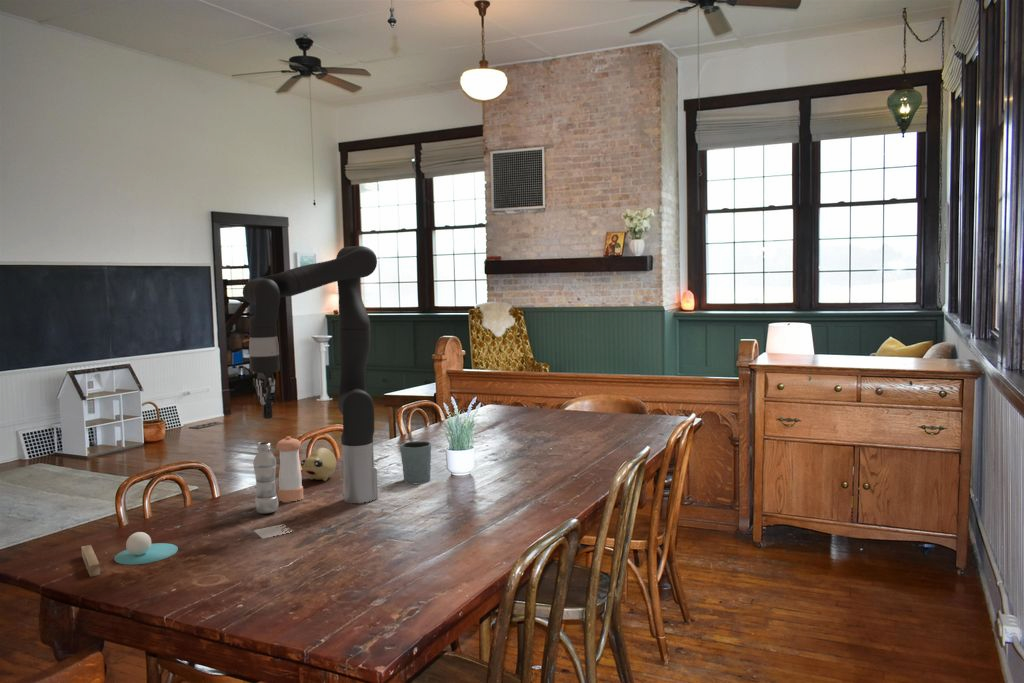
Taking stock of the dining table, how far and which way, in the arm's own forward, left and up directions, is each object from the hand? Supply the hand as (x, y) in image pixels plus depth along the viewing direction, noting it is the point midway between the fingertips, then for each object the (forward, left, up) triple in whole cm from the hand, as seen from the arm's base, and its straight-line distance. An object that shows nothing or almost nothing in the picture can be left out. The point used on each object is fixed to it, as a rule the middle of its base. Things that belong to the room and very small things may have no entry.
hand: (267, 418), depth 205 cm
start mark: (+2, +7, -29) cm, 30 cm away
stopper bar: (+44, +4, -29) cm, 53 cm away
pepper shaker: (-12, -20, -29) cm, 37 cm away
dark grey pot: (-52, -15, -29) cm, 61 cm away
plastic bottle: (-2, -11, -29) cm, 31 cm away
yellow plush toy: (-27, -36, -29) cm, 54 cm away
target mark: (+32, +4, -29) cm, 43 cm away
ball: (+34, +3, -26) cm, 43 cm away
